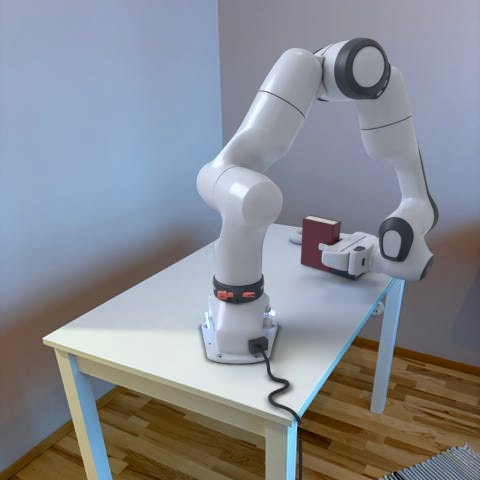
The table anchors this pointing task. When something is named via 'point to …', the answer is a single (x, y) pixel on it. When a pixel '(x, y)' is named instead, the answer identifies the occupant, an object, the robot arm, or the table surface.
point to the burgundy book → (318, 240)
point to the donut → (296, 236)
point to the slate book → (346, 274)
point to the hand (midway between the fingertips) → (324, 242)
